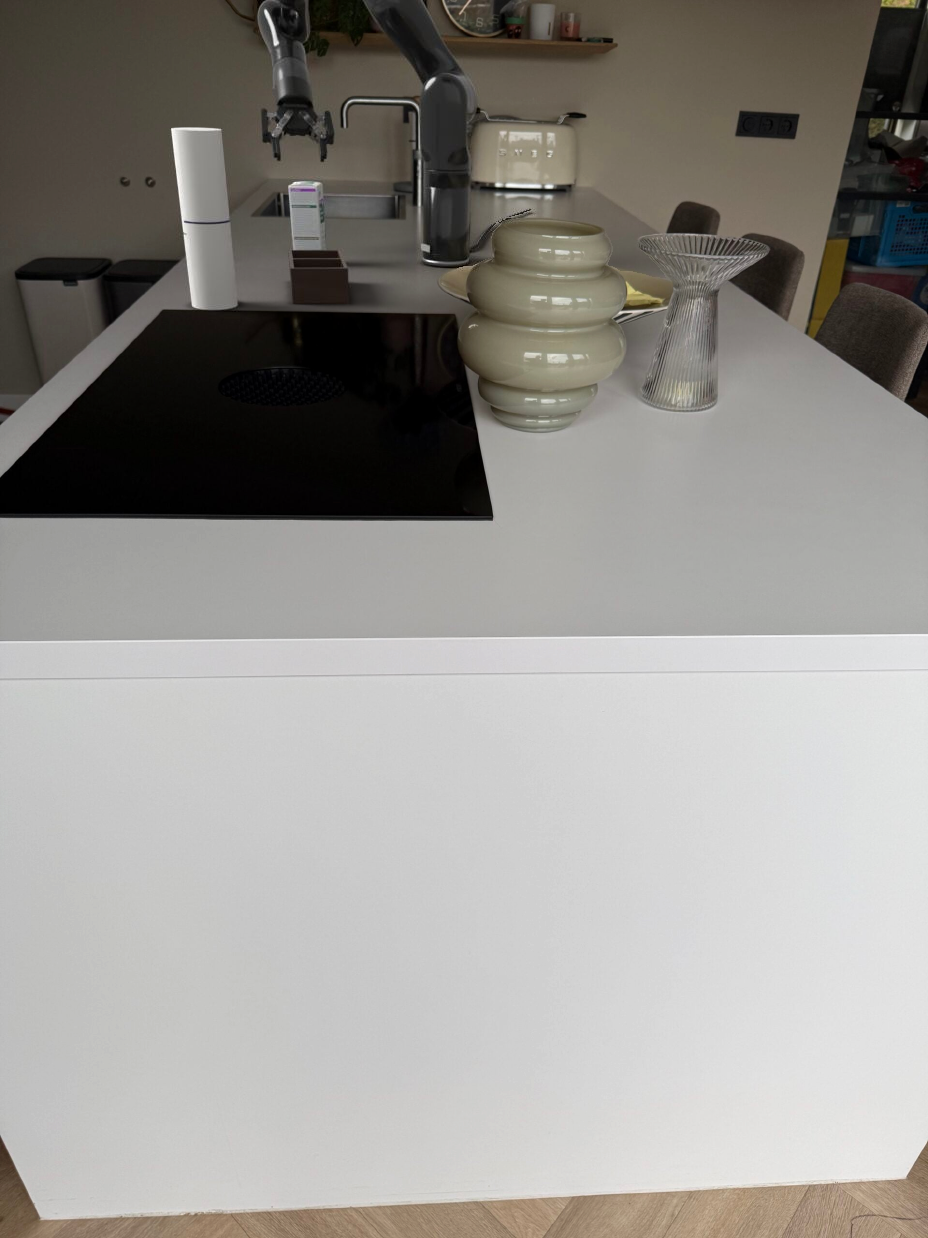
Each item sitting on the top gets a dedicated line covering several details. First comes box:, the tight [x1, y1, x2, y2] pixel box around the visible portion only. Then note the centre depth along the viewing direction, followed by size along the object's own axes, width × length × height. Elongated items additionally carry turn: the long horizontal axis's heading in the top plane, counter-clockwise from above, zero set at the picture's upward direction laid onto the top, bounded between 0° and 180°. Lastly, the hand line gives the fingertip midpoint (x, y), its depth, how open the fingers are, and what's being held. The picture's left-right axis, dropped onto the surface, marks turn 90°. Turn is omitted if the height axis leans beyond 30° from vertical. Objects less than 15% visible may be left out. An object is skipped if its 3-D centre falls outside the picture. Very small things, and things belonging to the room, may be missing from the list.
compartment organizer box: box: [288, 249, 350, 305], centre depth 156 cm, size 18×9×6 cm, turn 10°
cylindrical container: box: [170, 127, 239, 311], centre depth 141 cm, size 7×7×25 cm
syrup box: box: [287, 180, 328, 250], centre depth 177 cm, size 6×6×14 cm
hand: (300, 158), depth 181 cm, fingers open, 8 cm apart
